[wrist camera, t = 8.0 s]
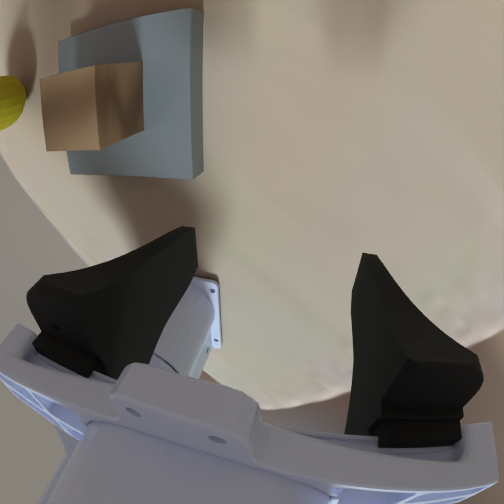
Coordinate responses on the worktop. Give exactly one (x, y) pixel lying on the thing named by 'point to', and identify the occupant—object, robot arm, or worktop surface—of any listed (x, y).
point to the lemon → (11, 100)
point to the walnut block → (92, 106)
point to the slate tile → (149, 93)
